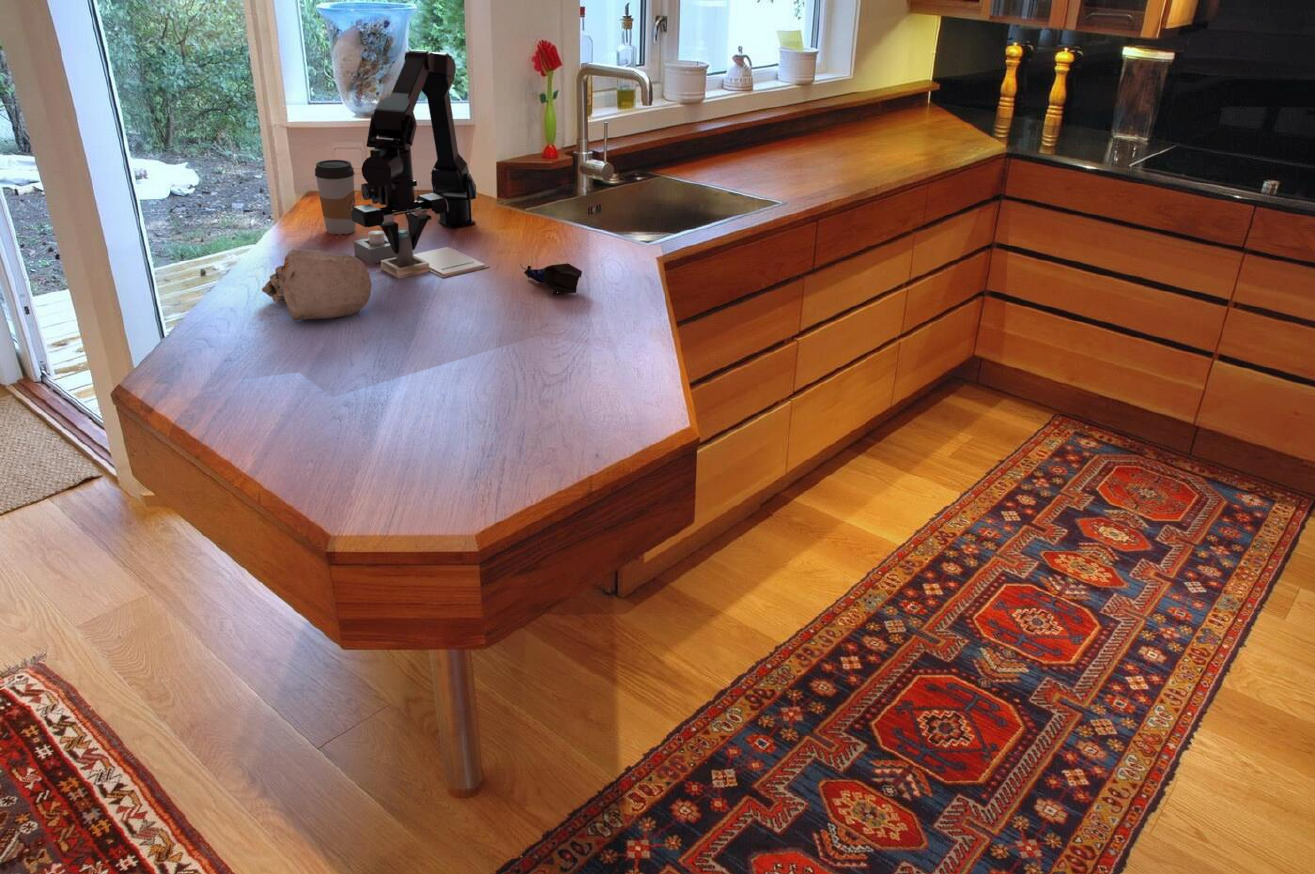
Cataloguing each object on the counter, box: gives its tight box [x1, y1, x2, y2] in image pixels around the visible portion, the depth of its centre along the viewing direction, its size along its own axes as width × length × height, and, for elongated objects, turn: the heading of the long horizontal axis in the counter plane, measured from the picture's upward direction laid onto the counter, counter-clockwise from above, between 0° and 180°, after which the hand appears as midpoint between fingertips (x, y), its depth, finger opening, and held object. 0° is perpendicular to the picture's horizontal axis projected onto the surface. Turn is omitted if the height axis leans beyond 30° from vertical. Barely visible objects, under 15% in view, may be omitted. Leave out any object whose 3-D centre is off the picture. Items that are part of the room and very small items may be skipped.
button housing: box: [353, 235, 396, 264], centre depth 211 cm, size 7×7×3 cm
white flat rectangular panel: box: [413, 246, 490, 279], centre depth 210 cm, size 11×15×1 cm
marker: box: [396, 229, 414, 268], centre depth 203 cm, size 3×3×7 cm
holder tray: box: [380, 255, 430, 279], centre depth 205 cm, size 7×7×2 cm
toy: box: [518, 262, 583, 295], centre depth 198 cm, size 9×6×15 cm
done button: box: [367, 230, 385, 246], centre depth 210 cm, size 3×3×3 cm
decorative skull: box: [261, 248, 373, 321], centre depth 182 cm, size 12×18×20 cm
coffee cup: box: [314, 159, 357, 236], centre depth 222 cm, size 8×8×15 cm
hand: (404, 251), depth 203 cm, fingers closed on marker, 3 cm apart
